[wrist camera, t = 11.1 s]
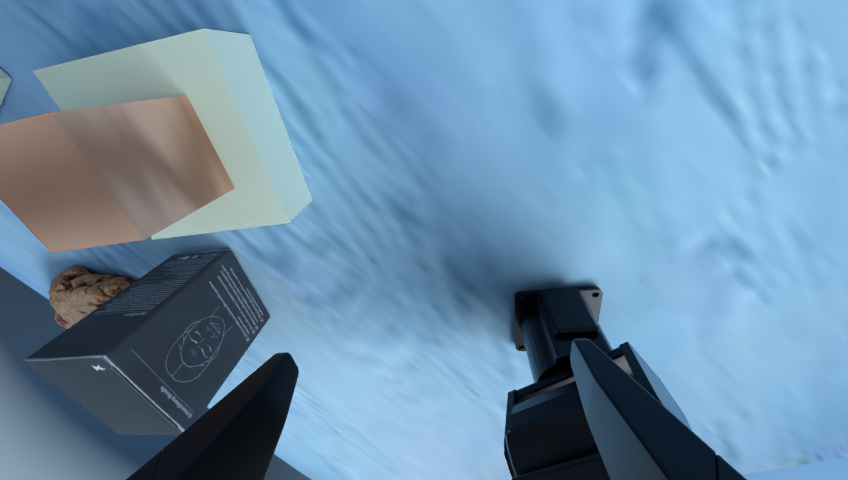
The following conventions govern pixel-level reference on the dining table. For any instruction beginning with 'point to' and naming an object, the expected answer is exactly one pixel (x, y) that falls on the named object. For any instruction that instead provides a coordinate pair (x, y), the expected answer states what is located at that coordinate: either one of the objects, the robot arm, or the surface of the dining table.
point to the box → (158, 345)
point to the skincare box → (4, 84)
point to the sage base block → (202, 118)
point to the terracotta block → (108, 171)
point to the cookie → (82, 293)
